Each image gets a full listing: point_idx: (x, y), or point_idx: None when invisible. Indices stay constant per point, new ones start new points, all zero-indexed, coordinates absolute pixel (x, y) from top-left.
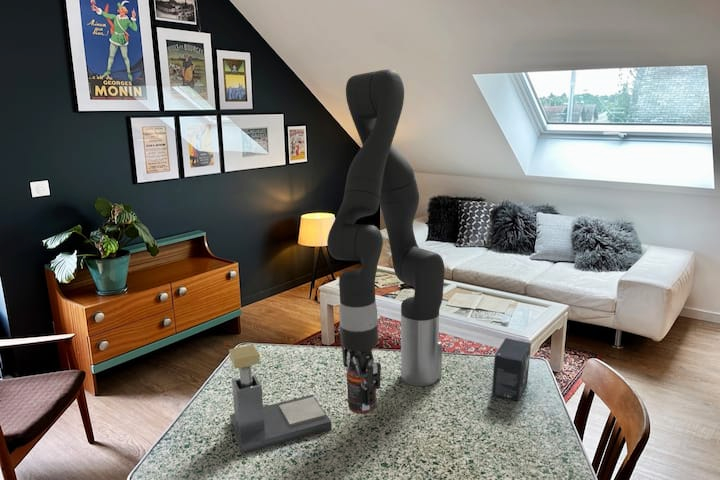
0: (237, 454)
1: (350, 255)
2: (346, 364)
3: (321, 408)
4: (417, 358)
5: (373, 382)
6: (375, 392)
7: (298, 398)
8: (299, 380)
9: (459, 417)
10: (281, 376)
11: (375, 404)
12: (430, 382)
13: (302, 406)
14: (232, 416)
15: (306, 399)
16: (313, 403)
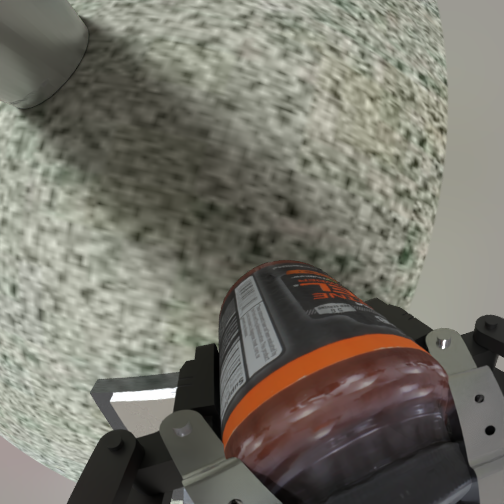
0: None
1: None
2: (169, 491)
3: (159, 390)
4: (30, 25)
5: (474, 358)
6: (351, 292)
7: (109, 421)
8: (20, 374)
9: (266, 7)
10: (16, 398)
11: (327, 274)
12: (85, 31)
13: (157, 430)
14: (179, 499)
15: (122, 416)
16: (143, 408)
